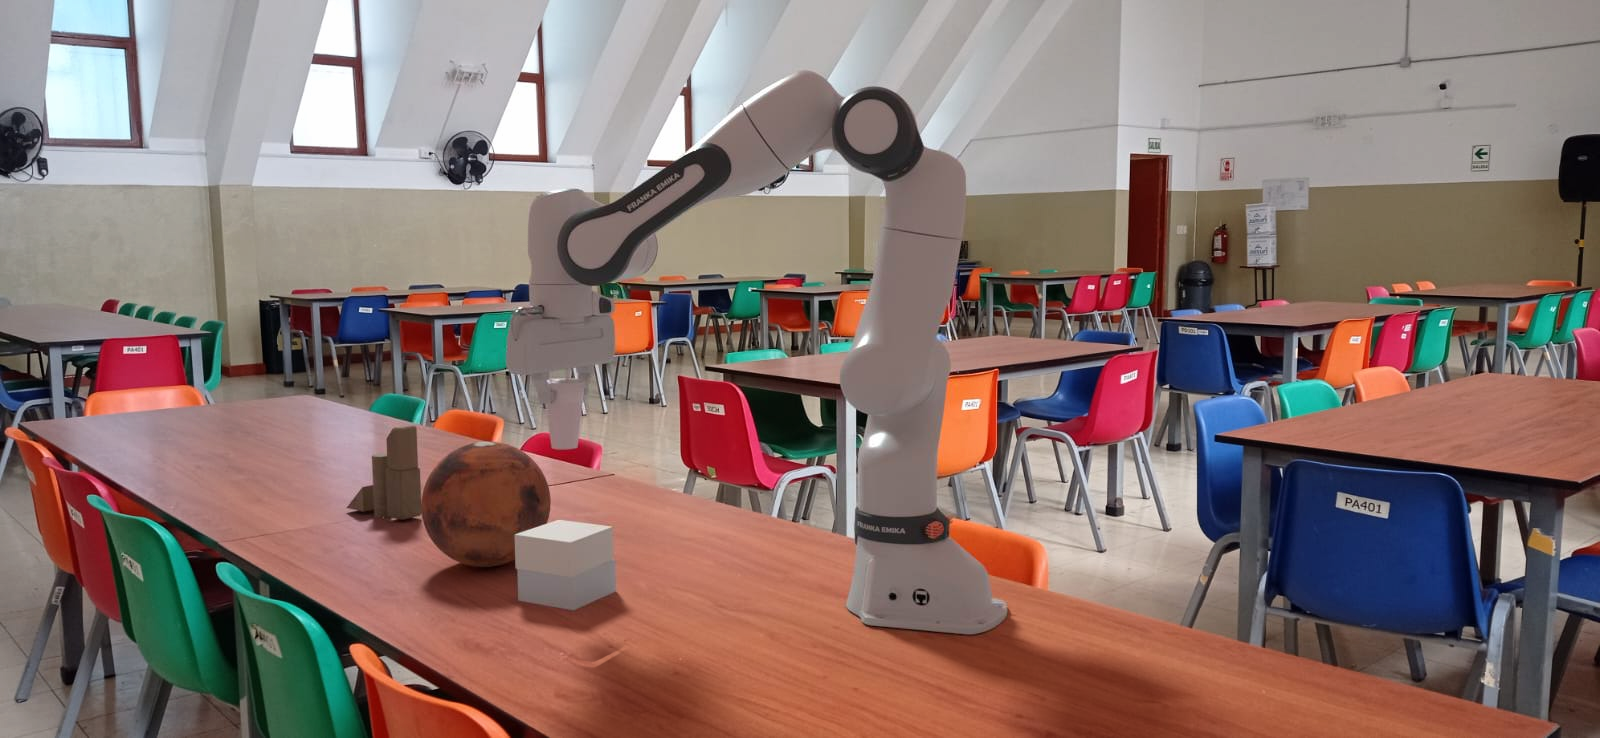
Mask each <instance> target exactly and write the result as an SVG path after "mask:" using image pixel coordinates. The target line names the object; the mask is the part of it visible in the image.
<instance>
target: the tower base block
mask: <svg viewBox="0 0 1600 738" xmlns="http://www.w3.org/2000/svg"><path fill="white" fill-rule="evenodd" d="M616 568H617V567H616V559H614V560H612V561H609V562H607V563H604V564H602V565H600V566H597V567H595V568H592V569H590V570H588V571H585V572H583V573H580V574H578V575H575V576H573V577H567V576H560V575H554V574H548V573H541V572H535V571H528V570H522V569H516V572H517V597H518V599H517V601H519V602H525V603H529V604H536V605H541V606H547V607H553V608H559V609H562V610H563V609H565V610H569V611H575V610H577V609H579V608H583V607H584V606H587V605H588V604H590V603H592V602H596V601H597V600H600V599H602V598H604V597H606V596H608V595H611V594H613V593H616V592H617V581H616V580H617V576H616V572H617V571H616Z"/></svg>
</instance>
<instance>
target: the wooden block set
mask: <svg viewBox="0 0 1600 738" xmlns="http://www.w3.org/2000/svg"><path fill="white" fill-rule="evenodd" d="M417 428H418V427H417V426H416V425H413V424H411V425H410V424H409V425H403V426H396V427H395V426H394V427H393V428H392V429H391V431H390V432H389V434H388V436H387V437H386V440H385V441H386V453H377V454H376V453H375V454H373V455H372V456H371V465H372V466H371V469H372V485H366V486H362V487H361V488H360V489H359V491H358V492H357V493H356V495H355V496H354V497H353V499H352V500H351V501H350V503H348V504H347V506H346V509H348V510H354V511H359V512H364V513H365V512H367V511H368V512H369V511H372V510H373V513H374V514H373V515H374V518H375V517H376V518H375V519H384V518H383V517H389V518H393V519H395V520H402V521H403V520H407V519H412V518H417V517H420V516H422V511H421V501H422V491H421V490H422V487H421V486H422V485H421V483H422V482H421V468H420V467H419V457H418V456H419V455H418V453H419V451H418V431H417V430H418V429H417Z"/></svg>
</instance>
